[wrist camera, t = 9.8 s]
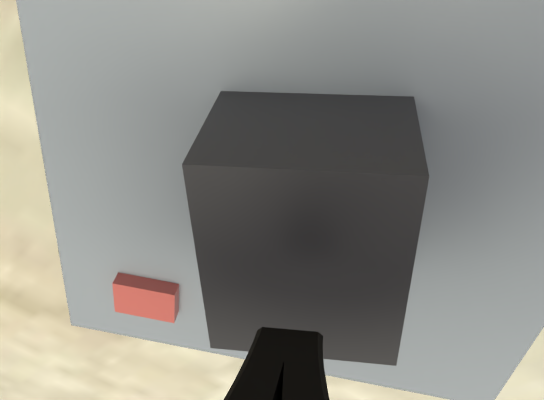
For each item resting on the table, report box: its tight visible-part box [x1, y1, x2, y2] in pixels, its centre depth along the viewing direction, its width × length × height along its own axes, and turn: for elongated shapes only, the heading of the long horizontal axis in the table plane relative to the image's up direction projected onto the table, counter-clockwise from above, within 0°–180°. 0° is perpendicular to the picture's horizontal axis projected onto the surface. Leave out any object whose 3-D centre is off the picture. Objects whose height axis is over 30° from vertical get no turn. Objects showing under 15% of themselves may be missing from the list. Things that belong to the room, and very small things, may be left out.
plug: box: [182, 91, 429, 366], centre depth 15 cm, size 5×6×6 cm
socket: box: [16, 0, 544, 400], centre depth 17 cm, size 18×18×3 cm
